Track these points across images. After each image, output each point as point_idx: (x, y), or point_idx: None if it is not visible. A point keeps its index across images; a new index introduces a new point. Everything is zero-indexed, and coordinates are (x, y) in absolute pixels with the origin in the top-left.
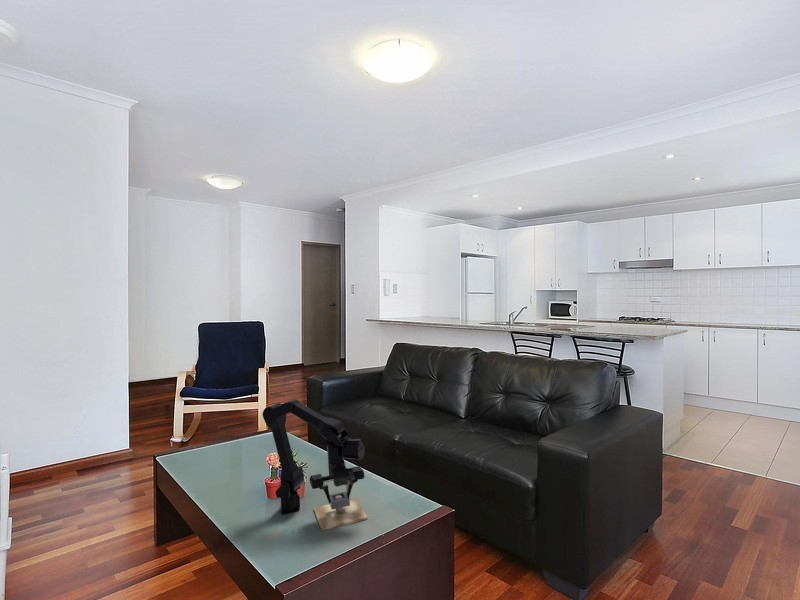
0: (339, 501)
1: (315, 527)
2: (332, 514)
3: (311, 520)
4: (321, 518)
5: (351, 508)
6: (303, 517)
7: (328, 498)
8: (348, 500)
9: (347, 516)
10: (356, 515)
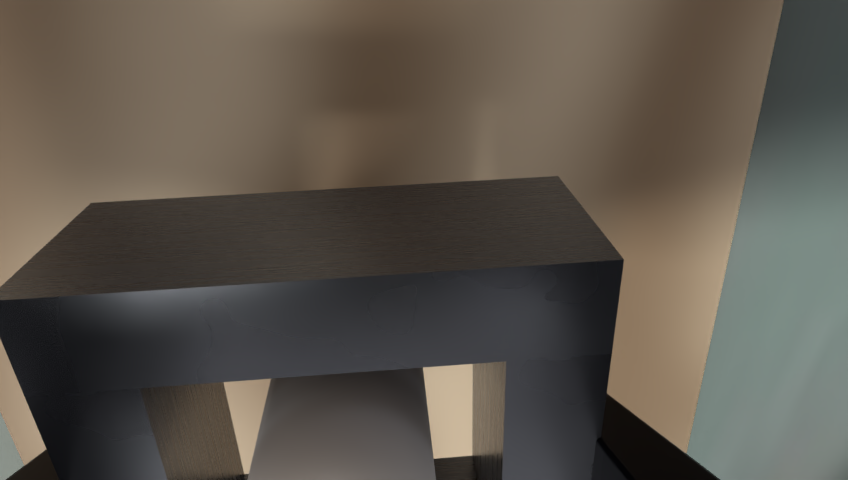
0: (352, 265)
1: (816, 19)
2: None
3: (776, 264)
4: (683, 194)
5: None
6: (828, 375)
7: (666, 461)
8: (55, 268)
9: (226, 65)
10: (30, 24)
